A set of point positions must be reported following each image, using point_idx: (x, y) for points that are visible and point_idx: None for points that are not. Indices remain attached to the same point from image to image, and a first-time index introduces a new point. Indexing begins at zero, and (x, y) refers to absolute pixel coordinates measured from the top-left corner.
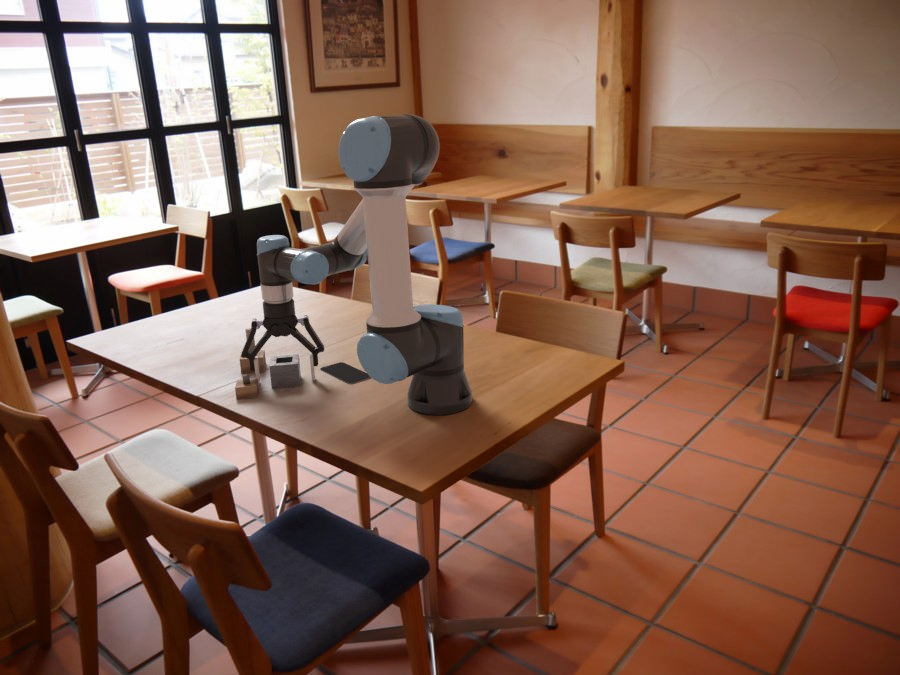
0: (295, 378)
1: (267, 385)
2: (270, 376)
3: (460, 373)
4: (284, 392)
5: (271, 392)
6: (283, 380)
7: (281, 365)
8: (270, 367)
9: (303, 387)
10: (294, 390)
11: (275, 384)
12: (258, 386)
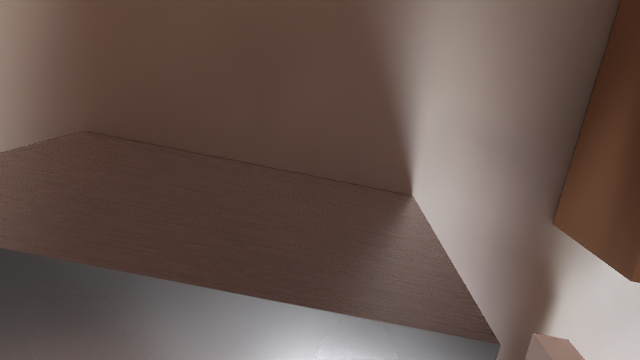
0: (81, 158)
1: None
2: (442, 246)
3: None
4: (288, 13)
5: (435, 81)
6: (256, 187)
7: (208, 280)
8: (465, 318)
9: (50, 80)
10: (163, 27)
11: (368, 198)
12: (593, 197)
